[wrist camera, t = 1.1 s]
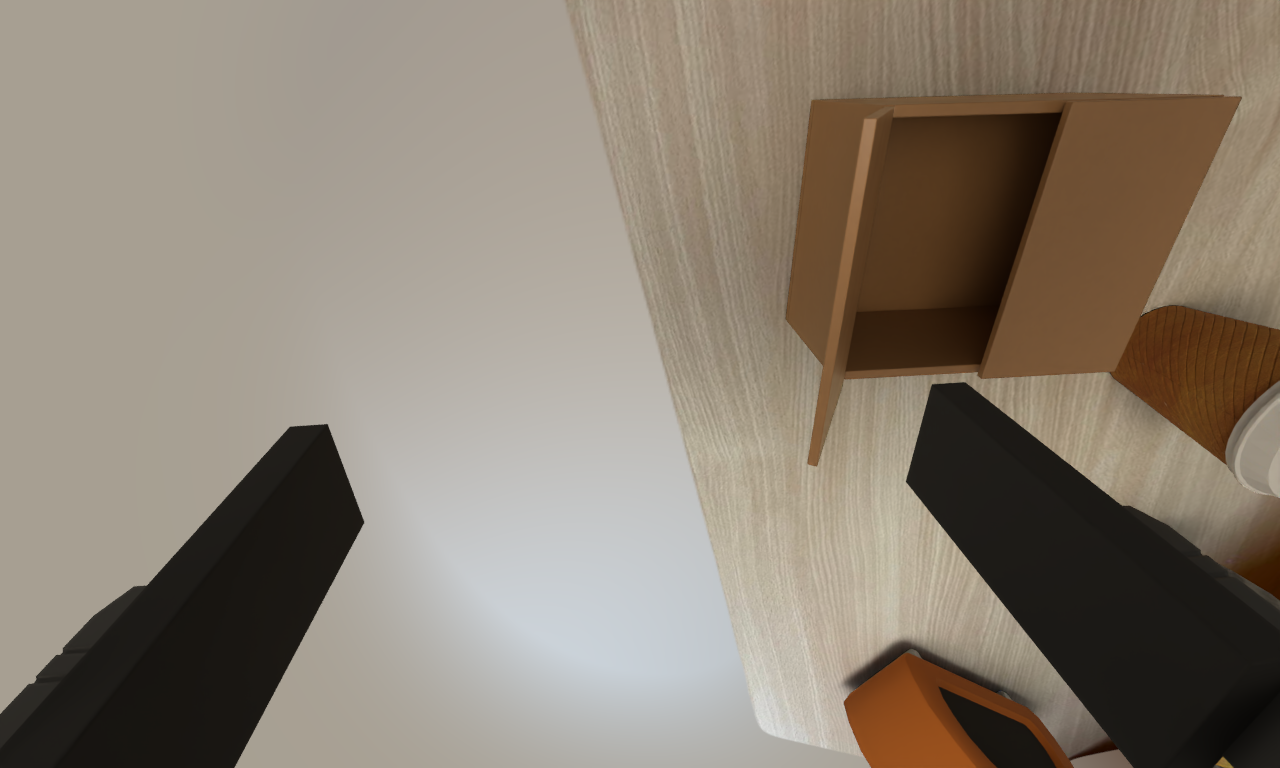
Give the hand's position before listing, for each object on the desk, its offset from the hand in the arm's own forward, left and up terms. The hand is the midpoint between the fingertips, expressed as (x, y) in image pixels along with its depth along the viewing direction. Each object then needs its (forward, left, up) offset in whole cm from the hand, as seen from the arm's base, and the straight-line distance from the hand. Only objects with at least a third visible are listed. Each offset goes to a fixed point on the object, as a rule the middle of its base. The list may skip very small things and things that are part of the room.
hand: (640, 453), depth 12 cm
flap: (0, +9, -10) cm, 14 cm away
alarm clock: (+52, +33, -23) cm, 65 cm away
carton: (0, +19, -23) cm, 30 cm away
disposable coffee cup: (+10, +39, -23) cm, 46 cm away
